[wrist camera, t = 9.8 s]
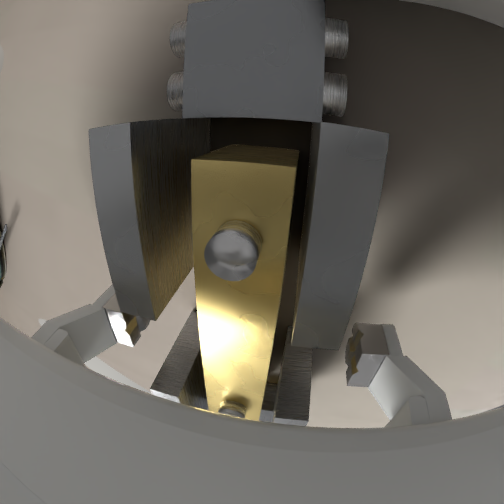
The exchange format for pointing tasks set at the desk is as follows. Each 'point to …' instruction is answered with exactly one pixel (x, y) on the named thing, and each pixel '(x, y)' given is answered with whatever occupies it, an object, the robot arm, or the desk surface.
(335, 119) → the desk surface
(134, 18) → the desk surface
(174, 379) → the chain end
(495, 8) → the grey half-round block
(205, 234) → the brass block with peg
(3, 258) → the pulley block
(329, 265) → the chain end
